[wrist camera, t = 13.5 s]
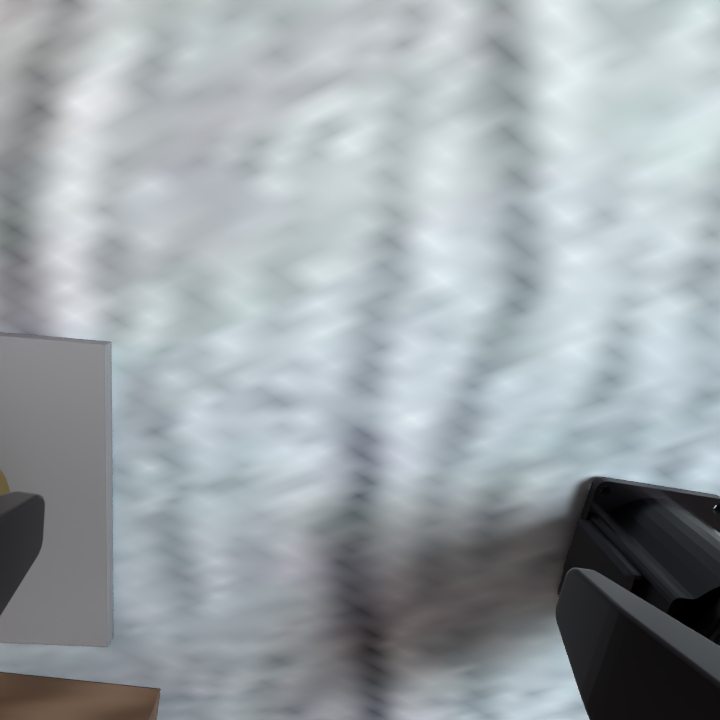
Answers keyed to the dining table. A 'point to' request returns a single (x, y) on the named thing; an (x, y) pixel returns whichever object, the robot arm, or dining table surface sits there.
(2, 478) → the cork
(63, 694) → the socket block
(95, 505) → the grey mat
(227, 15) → the dining table surface
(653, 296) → the dining table surface
